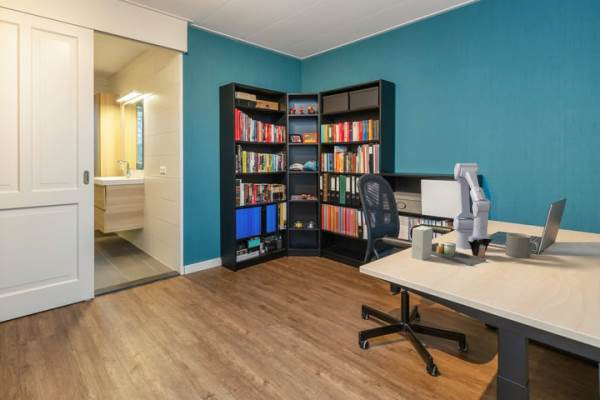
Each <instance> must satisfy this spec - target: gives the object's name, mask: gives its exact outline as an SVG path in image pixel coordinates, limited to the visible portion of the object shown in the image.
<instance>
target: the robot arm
mask: <svg viewBox="0 0 600 400" xmlns="http://www.w3.org/2000/svg"><path fill="white" fill-rule="evenodd" d="M453 170H454V171H453V172H454V180H455V181H457V189H458V191H457V193H458V195H457V196H458V208H459V209H458V210H459V211H458V213H456V214H455V215H454V217H453V229H454V230H455V231H456V235H455V236H456V241H455V244H456V249H461V250H464V251H468V250H471V253H472V256H473V255H475V256H478V252H479V247H480V245H485V246H486V248H485V253H486V252H487V249H488V247H489V244H491V241H492V239H491V238H492V233H488V225H489V214H490V213H491V212H492V202H491V201H490V200H489V198H486V197H487V196H486V195H485V192H484V189H483V187H480V184H479V180H478V172H479V165H478V164H477V163H476V162H474V163H473V162H472V163H470V162H469V163H467V162H466V163H460V162H459V163H458V162H457V163H456V164H455V166H454V169H453ZM469 188H470V190H469ZM470 198H471V201H472V207H471V206H470V205H471V204H470ZM470 207H471V208H472V213H471V210H470V209H471V208H470Z"/></svg>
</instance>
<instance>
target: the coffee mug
mask: <svg viewBox="0 0 600 400" xmlns="http://www.w3.org/2000/svg"><path fill="white" fill-rule="evenodd" d="M505 238H506V239H505V240H506V242H505V253H504V254H505V256H507V257H509V258H516V259H525V260H526V259H530V257H531V255H535V254H538V253H539V250H540V244H539V243H538V242H537V241H535V240H532V235H530V234H526V233H520V232H508V233H506V236H505ZM532 245H534V246H535V247H534V248H535V249H534V250H533V249H532Z"/></svg>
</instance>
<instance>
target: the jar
mask: <svg viewBox="0 0 600 400" xmlns="http://www.w3.org/2000/svg"><path fill="white" fill-rule="evenodd" d="M485 248H486V246H485V245H480V247H479V252H478V256H476V257H479V258H483V259H485V257H486V256H485V255H486V252H485ZM472 256H475V255H473V254H472Z"/></svg>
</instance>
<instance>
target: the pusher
mask: <svg viewBox="0 0 600 400" xmlns="http://www.w3.org/2000/svg"><path fill="white" fill-rule="evenodd" d="M436 253H440V254H444V243H441V244H440V245H439V246H437V251H436Z"/></svg>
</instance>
